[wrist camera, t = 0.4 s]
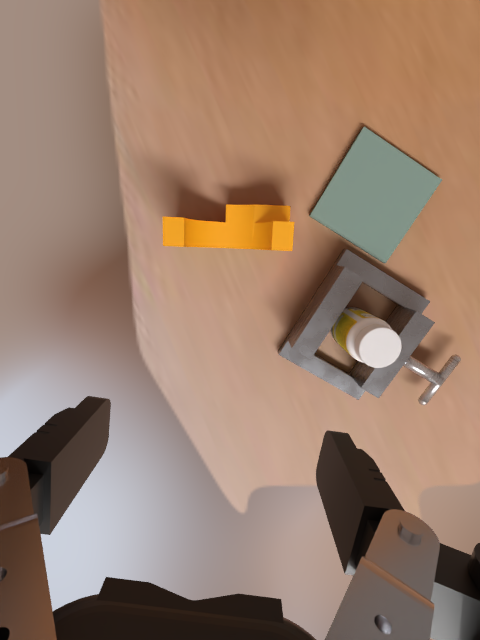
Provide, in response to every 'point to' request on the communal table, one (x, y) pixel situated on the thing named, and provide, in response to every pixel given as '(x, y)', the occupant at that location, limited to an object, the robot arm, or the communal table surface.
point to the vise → (402, 321)
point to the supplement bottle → (366, 338)
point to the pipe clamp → (234, 229)
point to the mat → (375, 195)
